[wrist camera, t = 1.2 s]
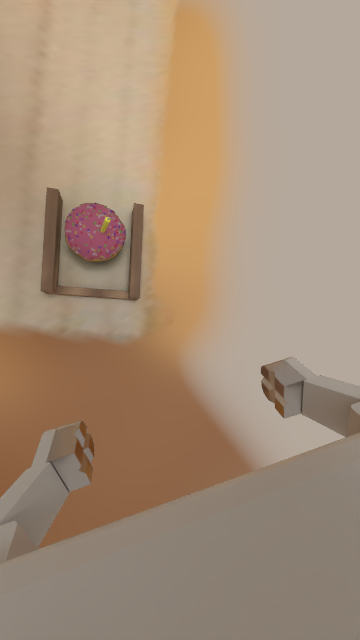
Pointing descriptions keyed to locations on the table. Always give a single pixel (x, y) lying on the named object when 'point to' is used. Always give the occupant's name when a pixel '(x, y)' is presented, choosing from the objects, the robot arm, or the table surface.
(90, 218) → the cupcake
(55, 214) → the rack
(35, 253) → the table surface
